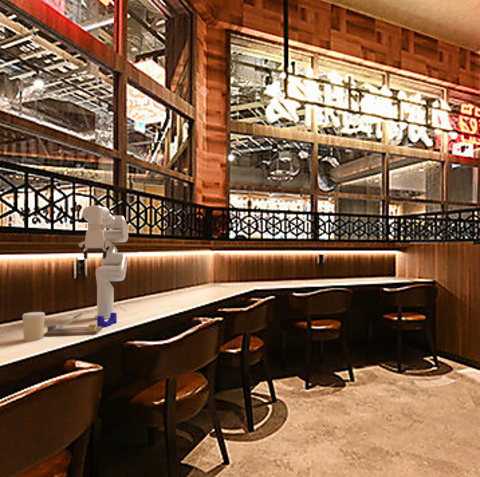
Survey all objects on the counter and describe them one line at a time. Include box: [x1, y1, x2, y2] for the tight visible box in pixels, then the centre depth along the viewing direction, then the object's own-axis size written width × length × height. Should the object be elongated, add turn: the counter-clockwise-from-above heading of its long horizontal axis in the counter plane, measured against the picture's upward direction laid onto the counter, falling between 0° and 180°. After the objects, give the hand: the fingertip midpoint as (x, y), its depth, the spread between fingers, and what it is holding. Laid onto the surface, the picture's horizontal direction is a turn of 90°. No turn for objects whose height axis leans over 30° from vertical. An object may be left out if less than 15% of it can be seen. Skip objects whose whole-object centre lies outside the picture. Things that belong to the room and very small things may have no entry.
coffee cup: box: [21, 311, 46, 342], centre depth 173 cm, size 9×9×12 cm
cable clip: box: [96, 312, 118, 329], centre depth 203 cm, size 12×4×6 cm, turn 159°
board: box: [44, 322, 103, 337], centre depth 186 cm, size 12×24×4 cm, turn 97°
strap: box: [55, 311, 86, 331], centre depth 186 cm, size 16×5×1 cm, turn 98°
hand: (95, 258), depth 203 cm, fingers open, 9 cm apart
